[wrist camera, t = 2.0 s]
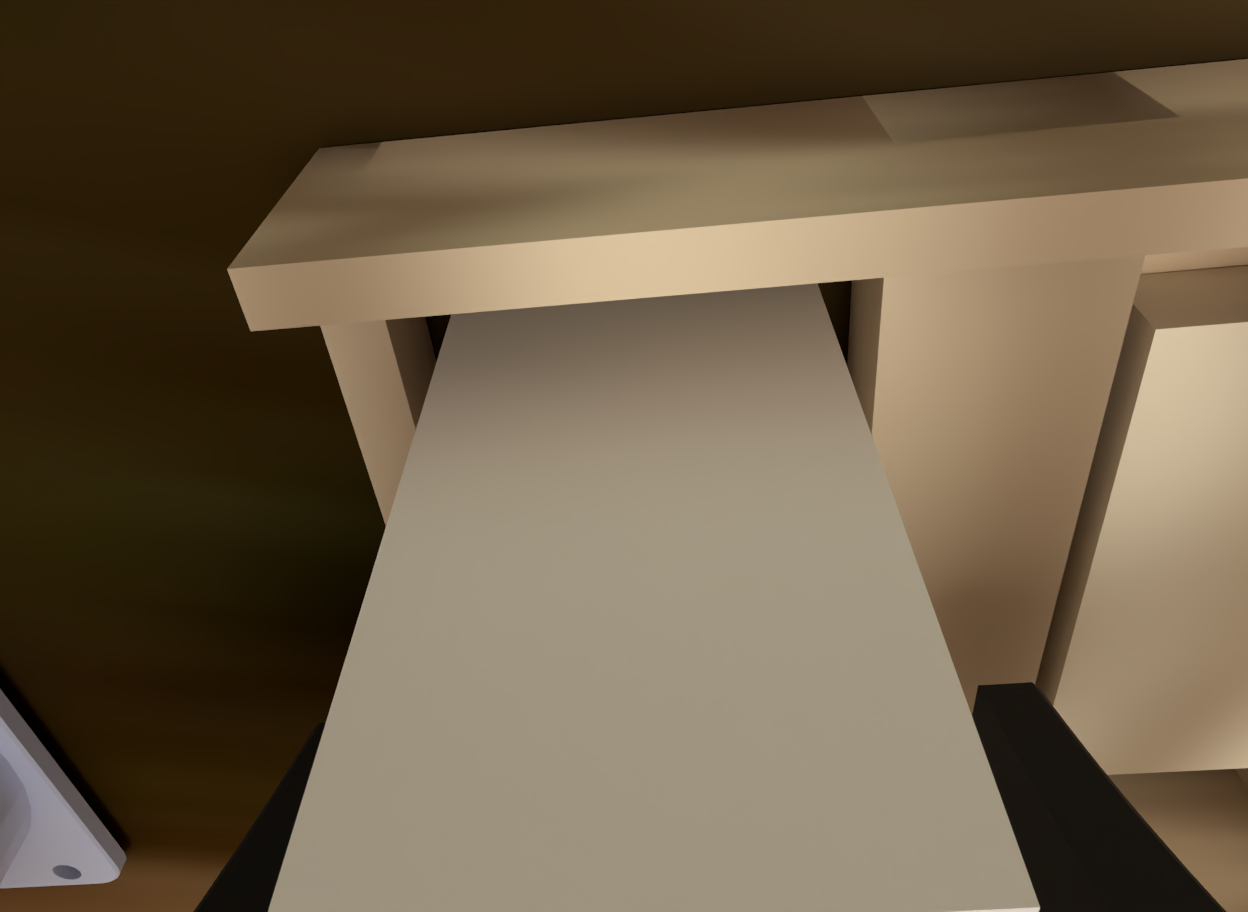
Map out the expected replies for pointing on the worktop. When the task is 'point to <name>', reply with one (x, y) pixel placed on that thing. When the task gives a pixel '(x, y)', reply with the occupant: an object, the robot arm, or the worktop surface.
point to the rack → (818, 253)
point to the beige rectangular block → (649, 641)
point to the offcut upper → (1163, 543)
